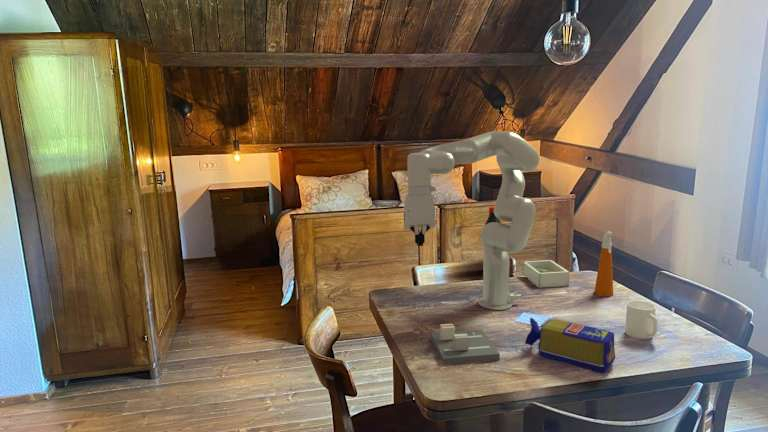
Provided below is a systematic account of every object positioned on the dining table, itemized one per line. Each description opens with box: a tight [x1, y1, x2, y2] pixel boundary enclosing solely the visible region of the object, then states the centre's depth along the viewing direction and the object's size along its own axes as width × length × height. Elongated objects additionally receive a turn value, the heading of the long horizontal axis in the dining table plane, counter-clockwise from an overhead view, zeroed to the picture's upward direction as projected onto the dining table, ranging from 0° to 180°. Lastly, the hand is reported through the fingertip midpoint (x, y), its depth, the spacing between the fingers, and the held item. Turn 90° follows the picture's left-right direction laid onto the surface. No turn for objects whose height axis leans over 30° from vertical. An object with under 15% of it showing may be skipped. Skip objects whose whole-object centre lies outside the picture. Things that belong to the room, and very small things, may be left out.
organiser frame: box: [522, 259, 570, 289], centre depth 229 cm, size 13×18×6 cm
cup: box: [624, 300, 658, 340], centre depth 171 cm, size 8×12×10 cm
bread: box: [524, 317, 616, 374], centre depth 158 cm, size 10×25×10 cm, turn 52°
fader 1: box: [439, 323, 456, 340], centre depth 169 cm, size 4×3×4 cm
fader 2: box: [453, 333, 469, 351], centre depth 162 cm, size 4×3×4 cm
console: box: [430, 329, 501, 365], centre depth 166 cm, size 17×18×2 cm
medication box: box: [535, 267, 553, 273], centre depth 231 cm, size 12×3×4 cm, turn 38°
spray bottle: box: [594, 231, 614, 297], centre depth 208 cm, size 7×11×26 cm, turn 167°
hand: (419, 245), depth 178 cm, fingers closed
